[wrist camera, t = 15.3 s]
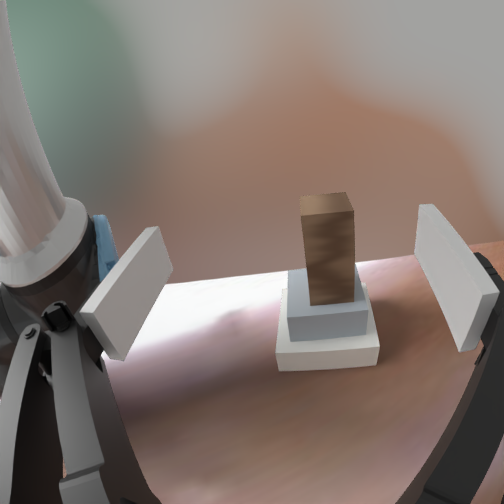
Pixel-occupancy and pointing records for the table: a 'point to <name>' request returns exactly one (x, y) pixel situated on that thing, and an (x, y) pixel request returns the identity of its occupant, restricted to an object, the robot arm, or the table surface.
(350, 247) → the walnut block
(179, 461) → the table surface
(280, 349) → the tower base
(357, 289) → the tower top
